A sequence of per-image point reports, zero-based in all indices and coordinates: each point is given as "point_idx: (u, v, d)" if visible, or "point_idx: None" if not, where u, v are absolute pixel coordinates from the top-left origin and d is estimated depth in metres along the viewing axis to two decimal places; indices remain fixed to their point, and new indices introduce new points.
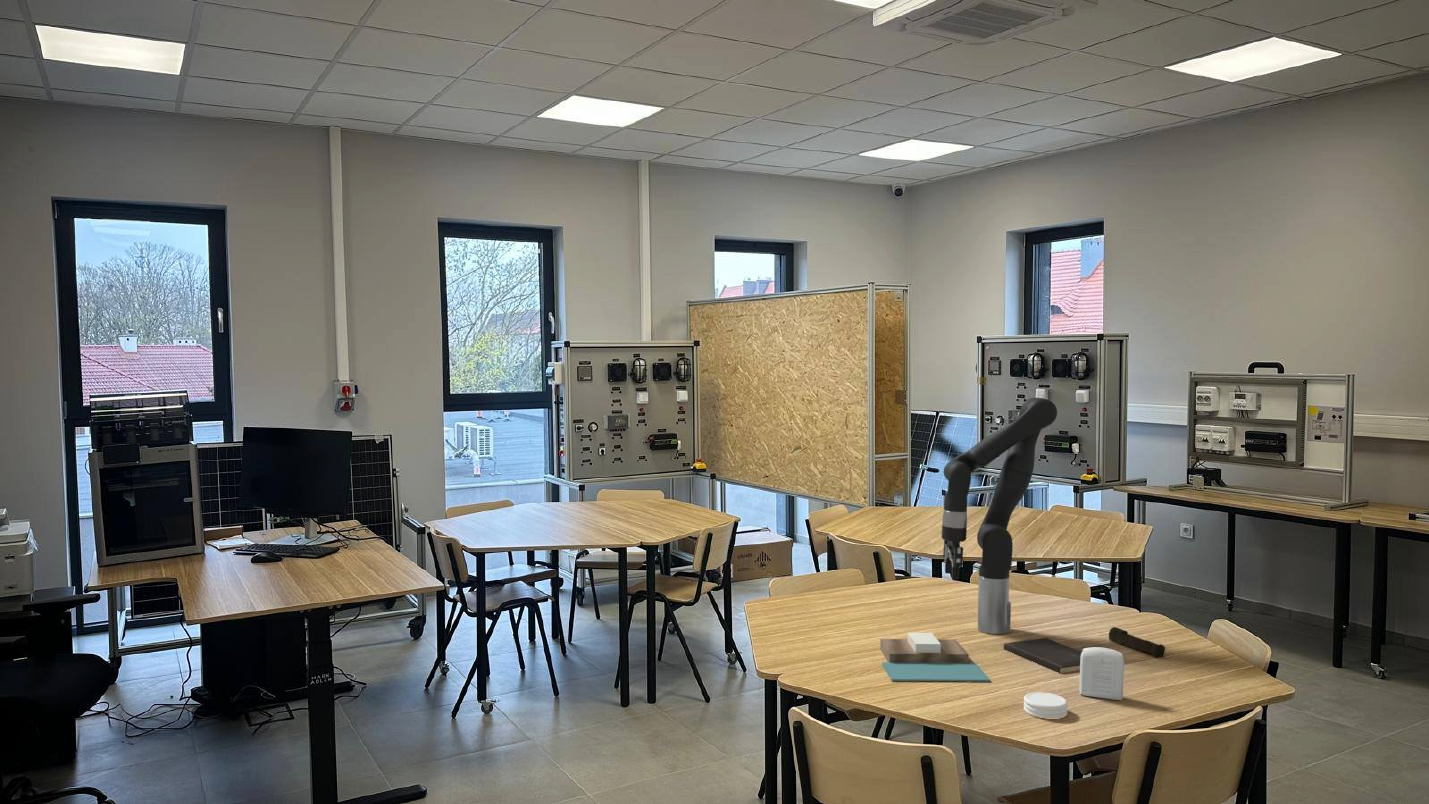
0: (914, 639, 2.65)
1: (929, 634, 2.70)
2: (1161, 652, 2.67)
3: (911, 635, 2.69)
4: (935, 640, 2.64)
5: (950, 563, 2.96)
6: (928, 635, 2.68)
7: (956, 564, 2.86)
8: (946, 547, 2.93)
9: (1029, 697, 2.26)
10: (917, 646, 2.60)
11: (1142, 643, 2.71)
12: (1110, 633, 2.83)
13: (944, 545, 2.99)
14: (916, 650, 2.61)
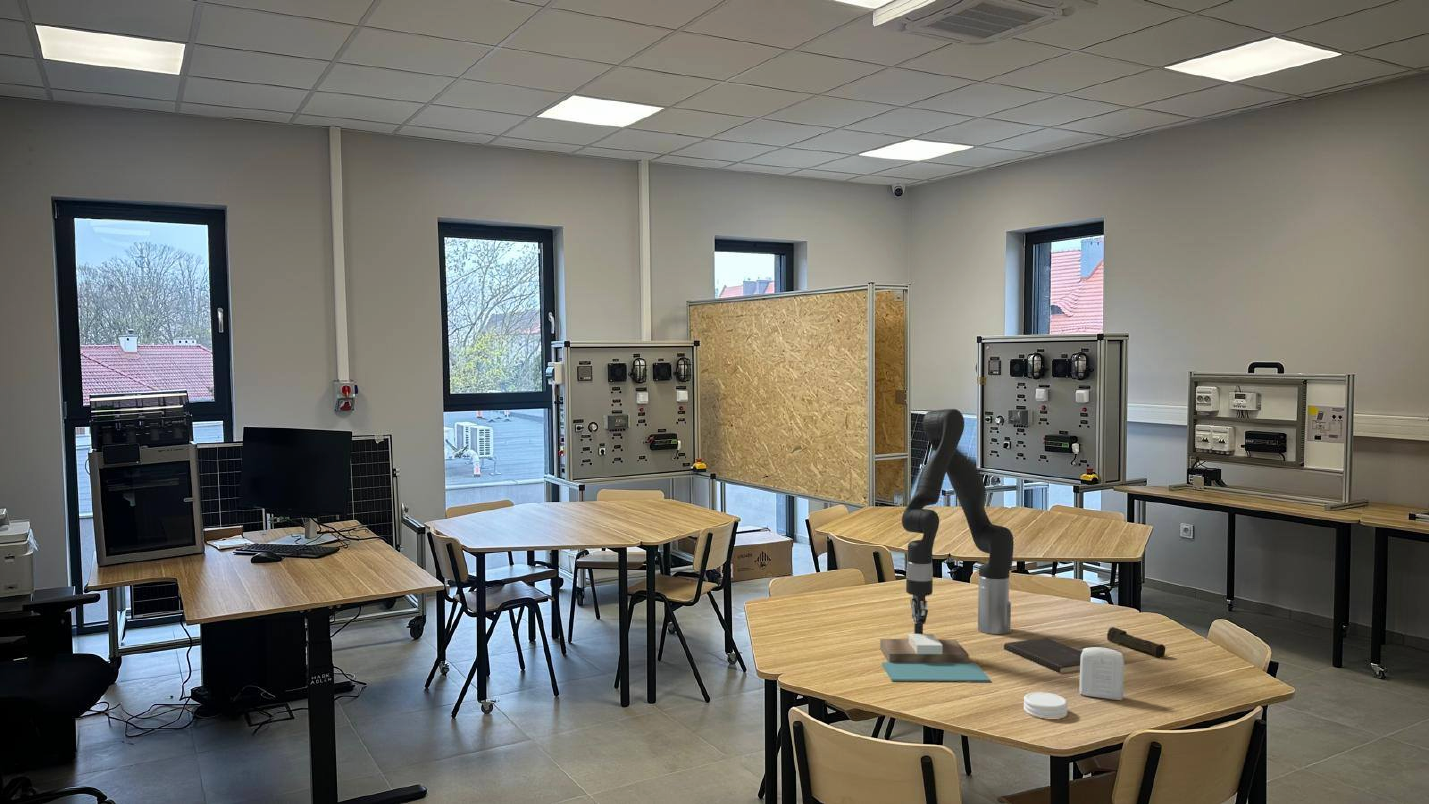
0: (915, 640, 2.63)
1: (930, 635, 2.68)
2: (1161, 651, 2.67)
3: (912, 636, 2.68)
4: (936, 641, 2.63)
5: None
6: (930, 636, 2.67)
7: (918, 621, 2.68)
8: (911, 600, 2.72)
9: (1029, 697, 2.26)
10: (919, 647, 2.59)
11: (1142, 643, 2.71)
12: (1109, 633, 2.83)
13: (911, 605, 2.76)
14: (918, 651, 2.59)
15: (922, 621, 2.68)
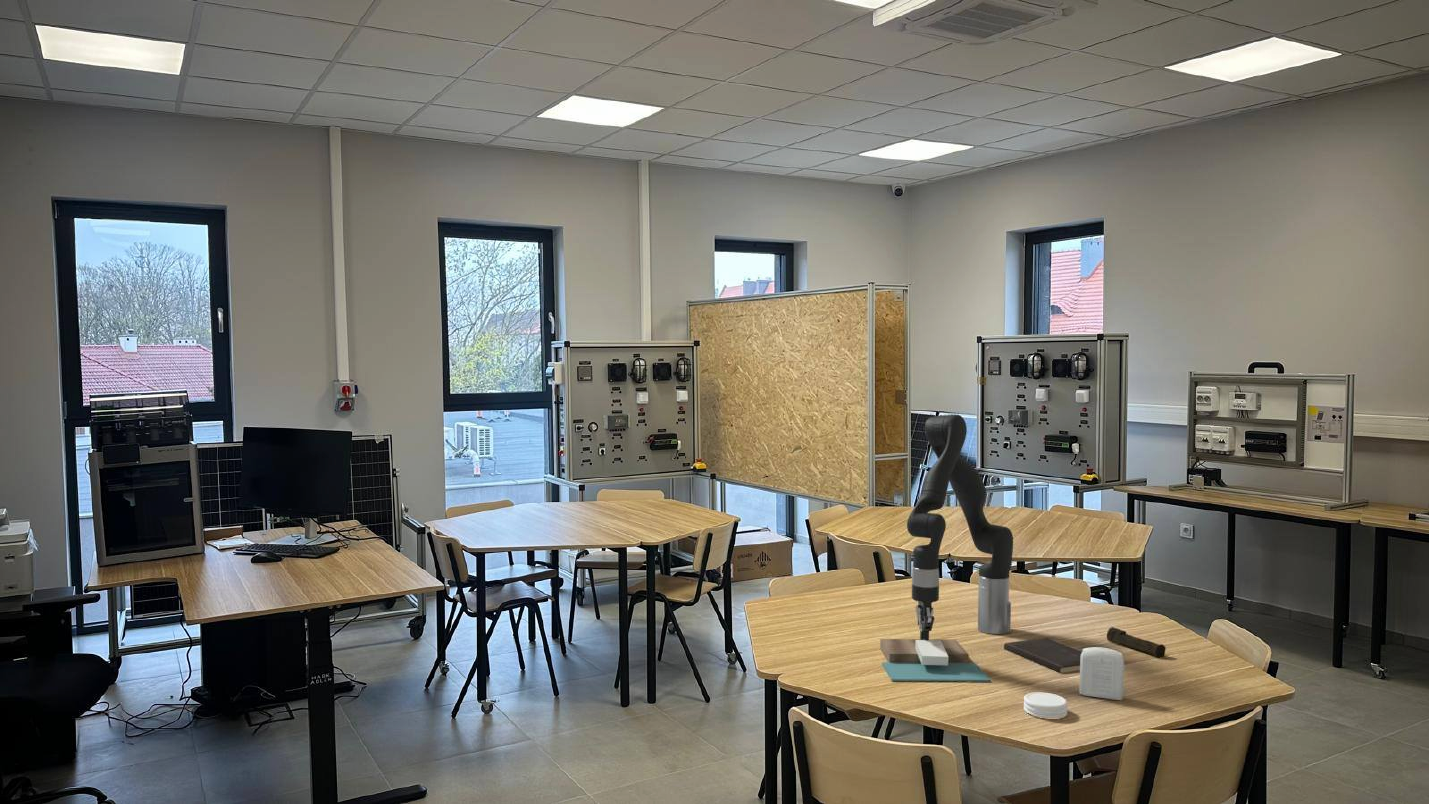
0: (921, 649, 2.56)
1: (938, 643, 2.61)
2: (1162, 651, 2.67)
3: (919, 643, 2.60)
4: (943, 651, 2.55)
5: None
6: (937, 644, 2.60)
7: (924, 628, 2.61)
8: (917, 606, 2.65)
9: (1029, 697, 2.26)
10: (923, 658, 2.52)
11: (1142, 643, 2.71)
12: (1108, 633, 2.83)
13: (917, 612, 2.69)
14: (922, 662, 2.52)
15: (928, 628, 2.61)
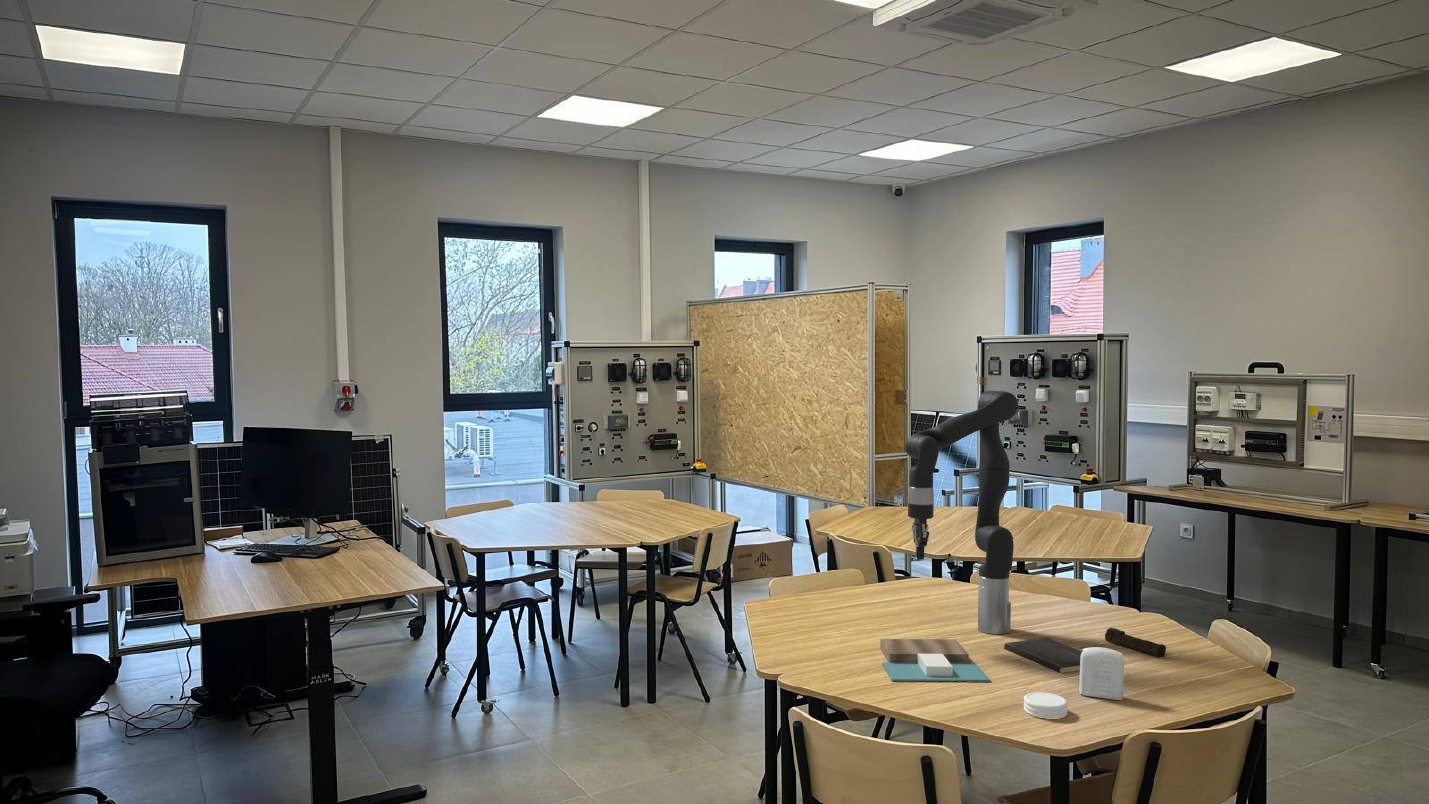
0: (924, 661, 2.53)
1: (940, 655, 2.58)
2: (1162, 651, 2.67)
3: (921, 656, 2.57)
4: (946, 662, 2.52)
5: None
6: (939, 657, 2.56)
7: (920, 544, 2.77)
8: (913, 524, 2.81)
9: (1029, 697, 2.26)
10: (928, 669, 2.48)
11: (1143, 643, 2.71)
12: (1107, 634, 2.82)
13: (913, 530, 2.85)
14: (927, 673, 2.49)
15: (923, 543, 2.77)
